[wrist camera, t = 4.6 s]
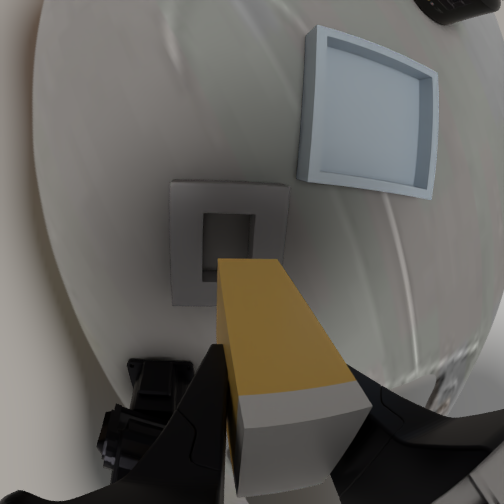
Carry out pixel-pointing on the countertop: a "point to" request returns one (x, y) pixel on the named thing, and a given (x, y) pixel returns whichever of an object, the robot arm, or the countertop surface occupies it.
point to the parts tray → (367, 116)
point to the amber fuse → (281, 382)
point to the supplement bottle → (457, 9)
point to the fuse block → (229, 202)
